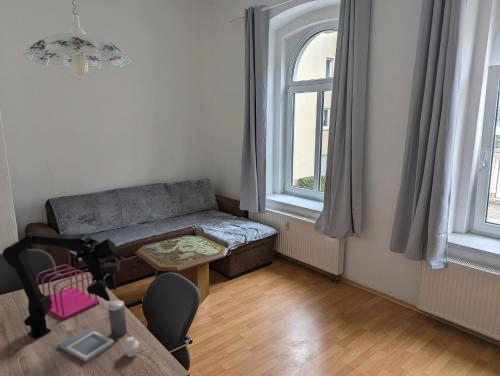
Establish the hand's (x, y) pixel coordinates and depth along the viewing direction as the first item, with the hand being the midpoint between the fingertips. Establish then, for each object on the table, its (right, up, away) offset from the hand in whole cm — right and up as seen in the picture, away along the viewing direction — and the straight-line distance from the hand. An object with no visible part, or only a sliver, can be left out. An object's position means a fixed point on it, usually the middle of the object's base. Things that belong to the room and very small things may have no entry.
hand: (112, 295), depth 145 cm
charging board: (-7, -17, -9) cm, 20 cm away
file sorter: (-30, -12, +23) cm, 39 cm away
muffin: (+12, -18, -14) cm, 26 cm away
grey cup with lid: (+3, -15, -1) cm, 16 cm away
